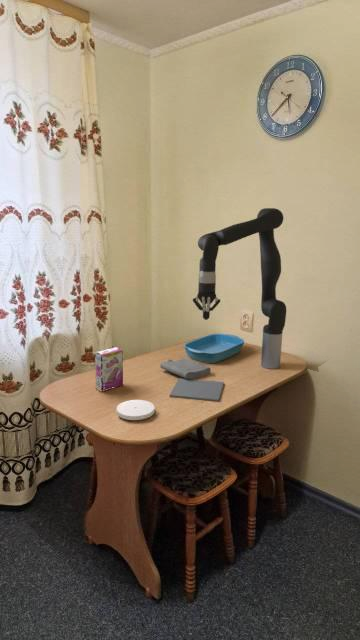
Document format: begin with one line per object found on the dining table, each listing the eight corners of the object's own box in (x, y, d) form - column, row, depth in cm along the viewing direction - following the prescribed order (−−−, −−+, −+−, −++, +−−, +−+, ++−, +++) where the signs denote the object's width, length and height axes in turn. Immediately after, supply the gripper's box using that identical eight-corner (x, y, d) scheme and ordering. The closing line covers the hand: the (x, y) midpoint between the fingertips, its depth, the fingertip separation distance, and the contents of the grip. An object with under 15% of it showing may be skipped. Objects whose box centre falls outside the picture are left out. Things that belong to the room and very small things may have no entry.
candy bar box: (102, 392, 179) (101, 354, 175) (95, 389, 183) (94, 352, 179) (124, 385, 187) (123, 349, 183) (117, 382, 190) (116, 346, 186)
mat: (179, 379, 194) (179, 378, 194) (223, 383, 190) (223, 382, 190) (169, 396, 176) (169, 395, 176) (218, 401, 172) (218, 399, 172)
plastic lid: (154, 422, 155) (154, 415, 155) (115, 423, 154) (115, 416, 154) (154, 405, 169) (154, 399, 168) (117, 406, 168) (117, 400, 167)
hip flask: (186, 372, 190) (156, 361, 204) (185, 381, 191) (156, 369, 205) (210, 367, 201) (181, 356, 215) (210, 375, 201) (181, 364, 216)
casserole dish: (211, 368, 209) (211, 354, 207) (175, 358, 222) (176, 345, 221) (250, 351, 236) (251, 338, 234) (217, 343, 250) (217, 331, 248)
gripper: (223, 280, 193) (221, 318, 197) (193, 279, 196) (193, 316, 200) (221, 283, 186) (219, 322, 190) (190, 281, 189) (190, 320, 193)
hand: (206, 319), depth 195 cm, fingers closed
